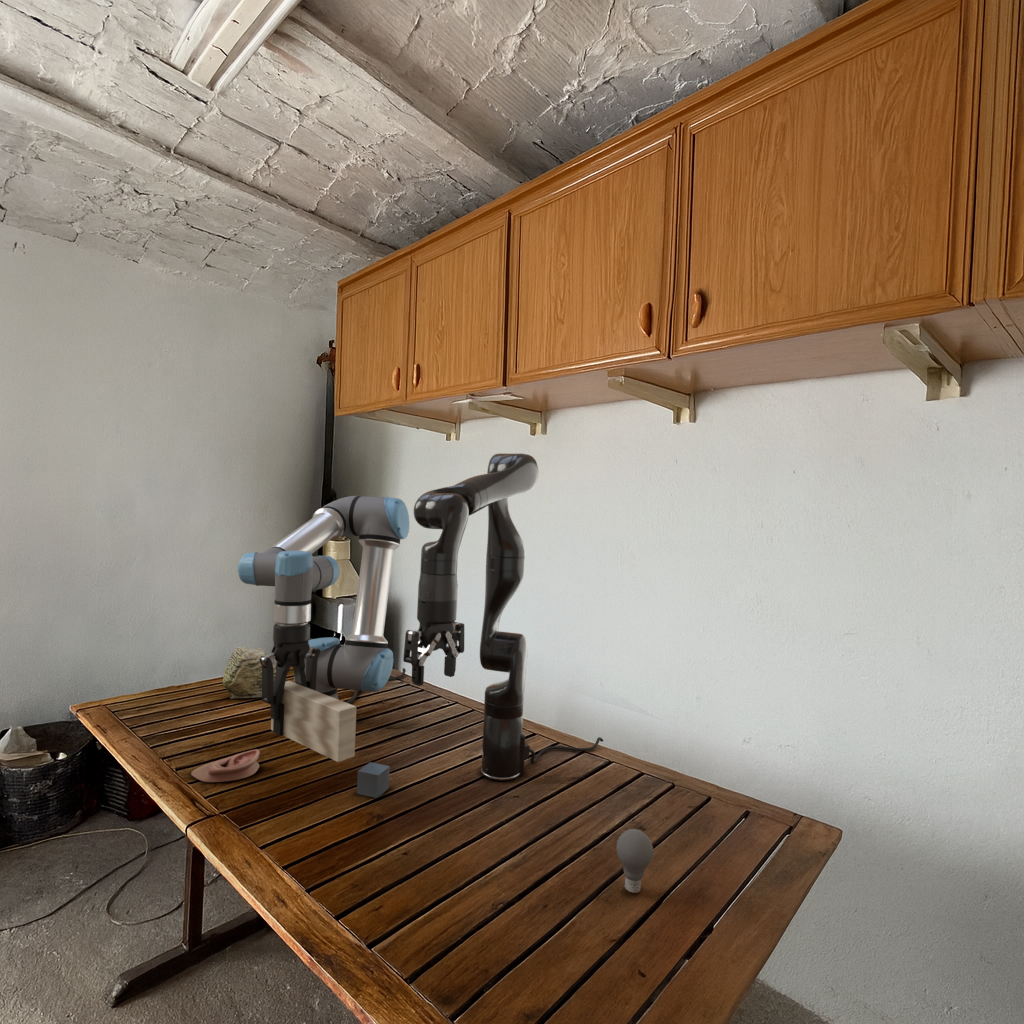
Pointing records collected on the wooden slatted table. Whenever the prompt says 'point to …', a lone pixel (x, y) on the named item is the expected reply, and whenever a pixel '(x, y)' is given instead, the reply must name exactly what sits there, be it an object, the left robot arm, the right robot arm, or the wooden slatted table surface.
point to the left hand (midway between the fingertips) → (288, 730)
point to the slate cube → (373, 780)
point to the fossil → (244, 673)
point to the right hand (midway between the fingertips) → (433, 680)
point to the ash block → (319, 722)
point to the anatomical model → (229, 768)
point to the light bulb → (634, 857)
